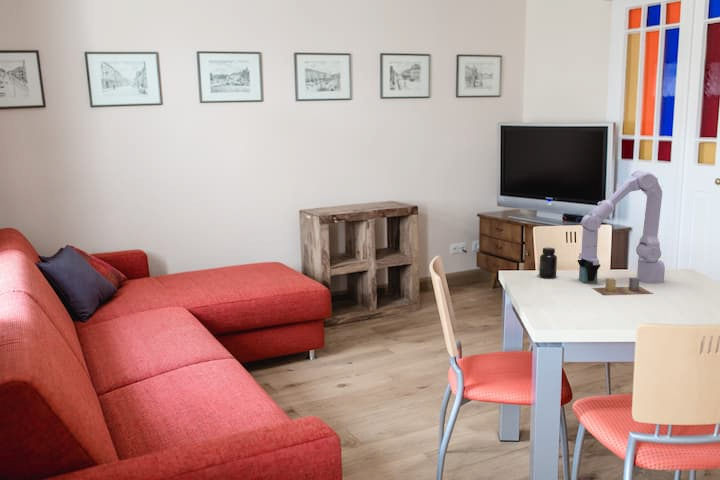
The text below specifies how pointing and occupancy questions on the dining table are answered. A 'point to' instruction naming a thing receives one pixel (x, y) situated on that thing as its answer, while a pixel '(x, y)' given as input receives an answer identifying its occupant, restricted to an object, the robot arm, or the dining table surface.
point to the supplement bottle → (548, 263)
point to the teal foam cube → (585, 275)
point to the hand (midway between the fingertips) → (587, 279)
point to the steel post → (633, 284)
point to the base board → (622, 291)
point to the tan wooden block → (610, 285)
